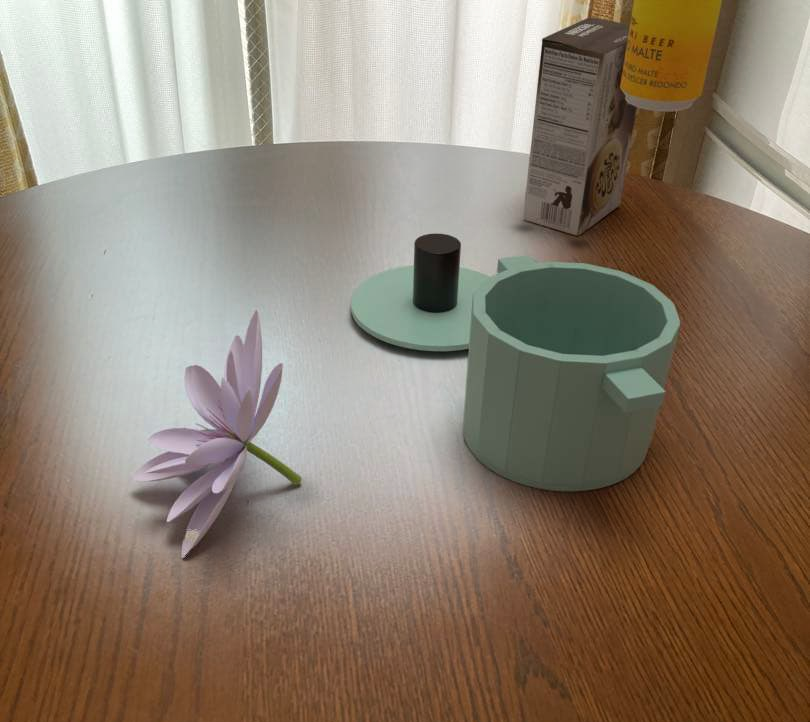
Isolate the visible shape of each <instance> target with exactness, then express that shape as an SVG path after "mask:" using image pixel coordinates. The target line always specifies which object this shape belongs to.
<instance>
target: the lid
mask: <svg viewBox="0 0 810 722" xmlns="http://www.w3.org/2000/svg"><path fill="white" fill-rule="evenodd" d="M413 245H414V247H413V264H412V265H405V266H399V267H395V268H391V269H390V268H389V269H387V270H383V271H381V272H379V273H375V274H373V275H372V276H370V277H368V278H366V279H365V280H363V282H361V283H359V285H358V286H357V287H356V288H355V289H354V291H353V292H352V294H351V299H350V311H351V315H352V318H353V319H354V321H355V322H356V324H357V325H358V326H359V327H360V329H362V330H363V331H365V332H366V333H368V334H369V335H370V336H372V337H374V338H376V339H377V340H379V341H383V342H385V343H388V344H391V345H395V346H397V347H401V348H405V349H410V350H417V351H427V352H455V351H463V350H469V338H470V325H471V312H472V299H473V294H474V292H475V291H476V290H477V289H478V288H479V287H480V286H481V285H482V284H483V283H484V282H485V280H486V279H487V278H489V277H491V276H492V275H488V274H486V273H483V272H480V271H477V270H474V269H470V268H466V267H461V266H460V265H461V253H462V251H461V250H462V243H461V241H460V240H459V239H458V238H457V237H455V236H453V235H451V234H445V233H436V232H435V233H427V234H423V235H420V236H419V237H417V238H416V239H415V240H414V243H413Z"/></svg>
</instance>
